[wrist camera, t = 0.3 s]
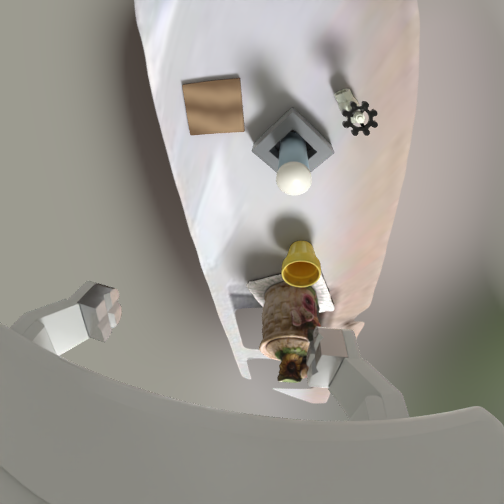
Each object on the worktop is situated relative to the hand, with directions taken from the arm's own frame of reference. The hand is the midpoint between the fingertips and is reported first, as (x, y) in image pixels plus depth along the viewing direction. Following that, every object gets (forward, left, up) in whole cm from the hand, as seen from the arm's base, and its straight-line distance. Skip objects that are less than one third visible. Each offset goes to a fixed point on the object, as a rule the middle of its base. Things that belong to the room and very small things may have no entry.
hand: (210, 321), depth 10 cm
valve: (-8, +13, -52) cm, 54 cm away
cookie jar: (+43, +50, -52) cm, 84 cm away
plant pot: (+27, +36, -52) cm, 68 cm away
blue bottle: (+7, +12, -52) cm, 53 cm away
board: (+12, -6, -52) cm, 53 cm away
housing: (+7, +12, -52) cm, 53 cm away
